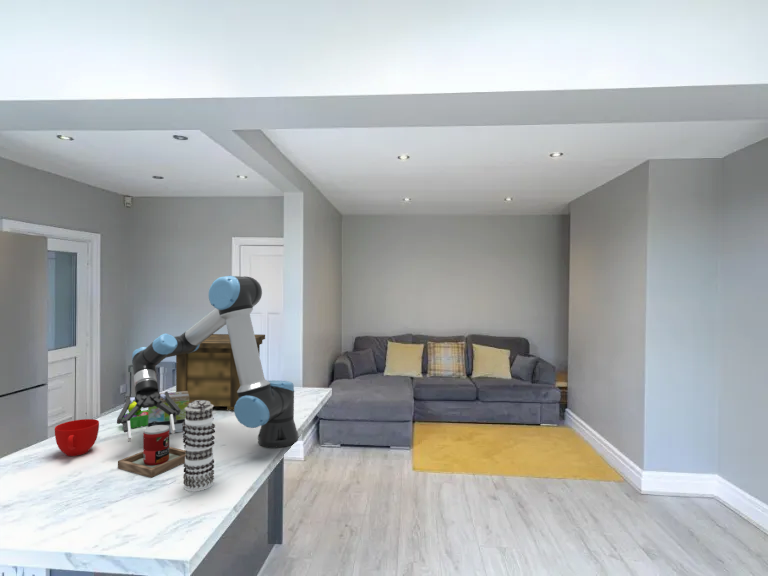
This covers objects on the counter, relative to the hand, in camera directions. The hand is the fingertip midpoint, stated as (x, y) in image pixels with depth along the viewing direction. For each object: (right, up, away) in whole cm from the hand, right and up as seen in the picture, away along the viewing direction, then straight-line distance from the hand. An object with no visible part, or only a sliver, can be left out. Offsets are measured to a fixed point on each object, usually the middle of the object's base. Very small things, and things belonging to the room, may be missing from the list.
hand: (152, 435), depth 154 cm
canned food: (+5, -7, -6) cm, 10 cm away
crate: (-2, -7, +68) cm, 69 cm away
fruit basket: (-24, -7, +32) cm, 41 cm away
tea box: (-7, -7, +27) cm, 29 cm away
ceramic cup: (-27, -7, +1) cm, 28 cm away
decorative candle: (+25, -8, -21) cm, 34 cm away
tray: (+5, -7, -6) cm, 11 cm away
